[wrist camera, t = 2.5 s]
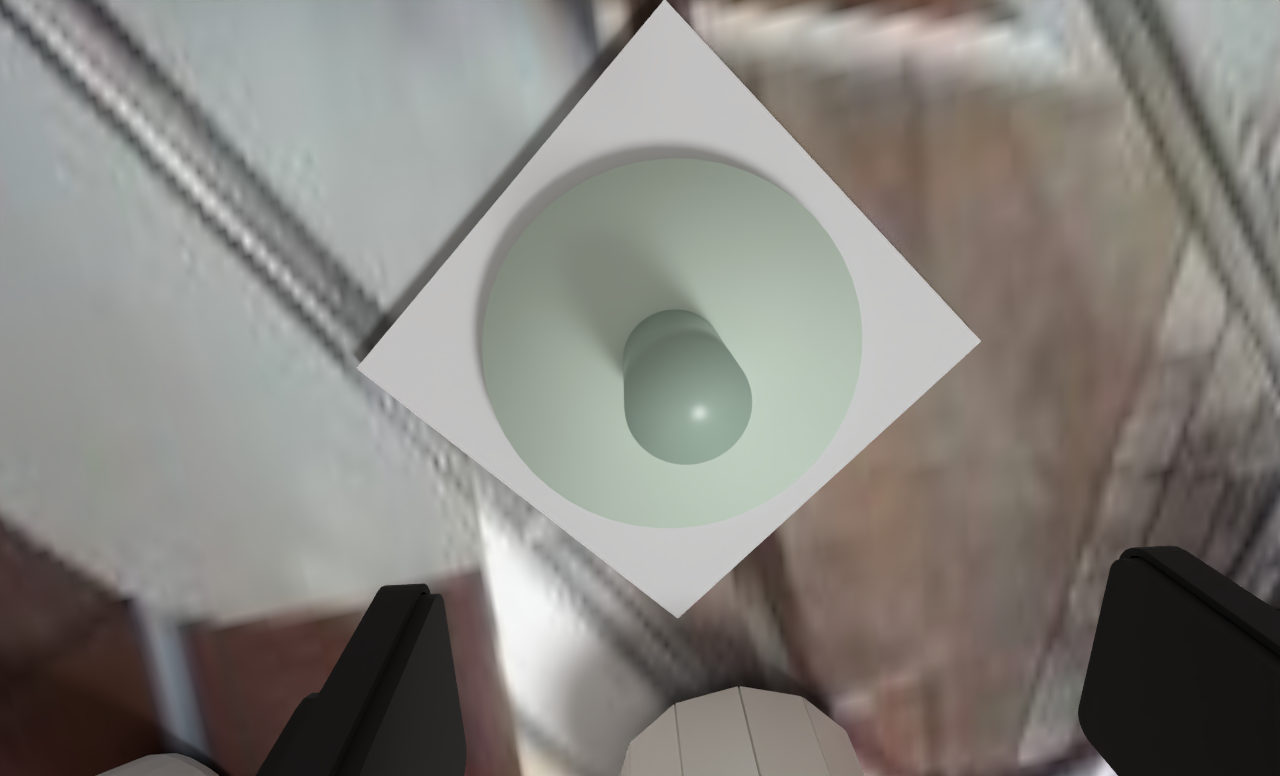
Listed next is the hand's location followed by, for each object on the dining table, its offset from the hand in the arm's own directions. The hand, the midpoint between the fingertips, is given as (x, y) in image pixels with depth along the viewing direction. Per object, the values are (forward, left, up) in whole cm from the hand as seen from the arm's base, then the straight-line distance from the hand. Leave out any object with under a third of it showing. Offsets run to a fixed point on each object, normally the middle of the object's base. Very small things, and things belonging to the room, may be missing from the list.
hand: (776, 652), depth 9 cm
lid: (0, 0, -18) cm, 18 cm away
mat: (0, 0, -18) cm, 18 cm away
